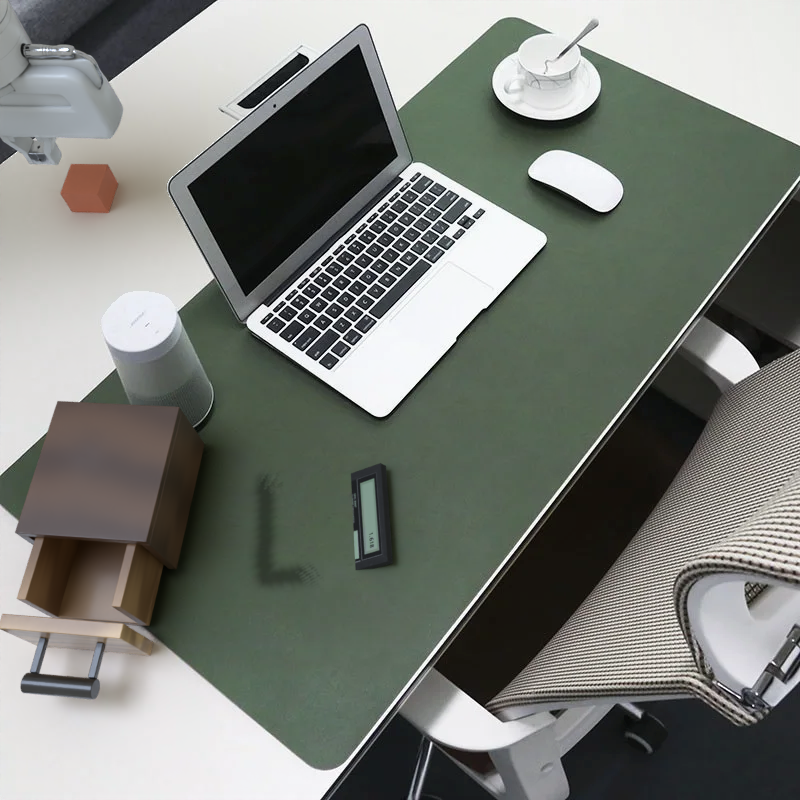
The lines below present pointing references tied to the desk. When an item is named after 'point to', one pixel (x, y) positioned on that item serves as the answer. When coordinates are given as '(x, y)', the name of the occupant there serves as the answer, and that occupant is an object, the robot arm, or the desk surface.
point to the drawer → (84, 607)
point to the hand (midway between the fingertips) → (46, 160)
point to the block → (89, 188)
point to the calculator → (371, 518)
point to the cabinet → (115, 477)
